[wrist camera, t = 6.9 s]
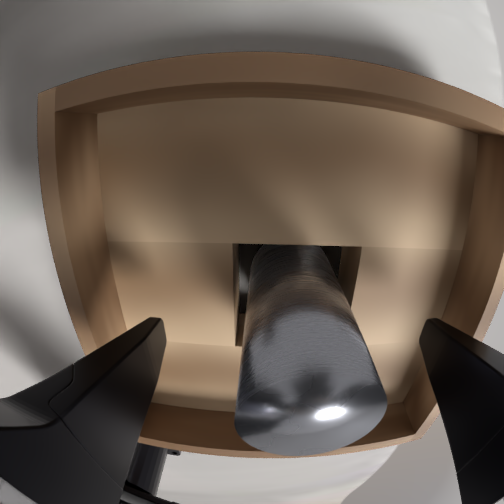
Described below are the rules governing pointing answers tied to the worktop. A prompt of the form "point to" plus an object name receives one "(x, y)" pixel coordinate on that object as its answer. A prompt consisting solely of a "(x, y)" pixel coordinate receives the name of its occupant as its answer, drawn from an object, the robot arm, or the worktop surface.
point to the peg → (303, 358)
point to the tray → (270, 216)
